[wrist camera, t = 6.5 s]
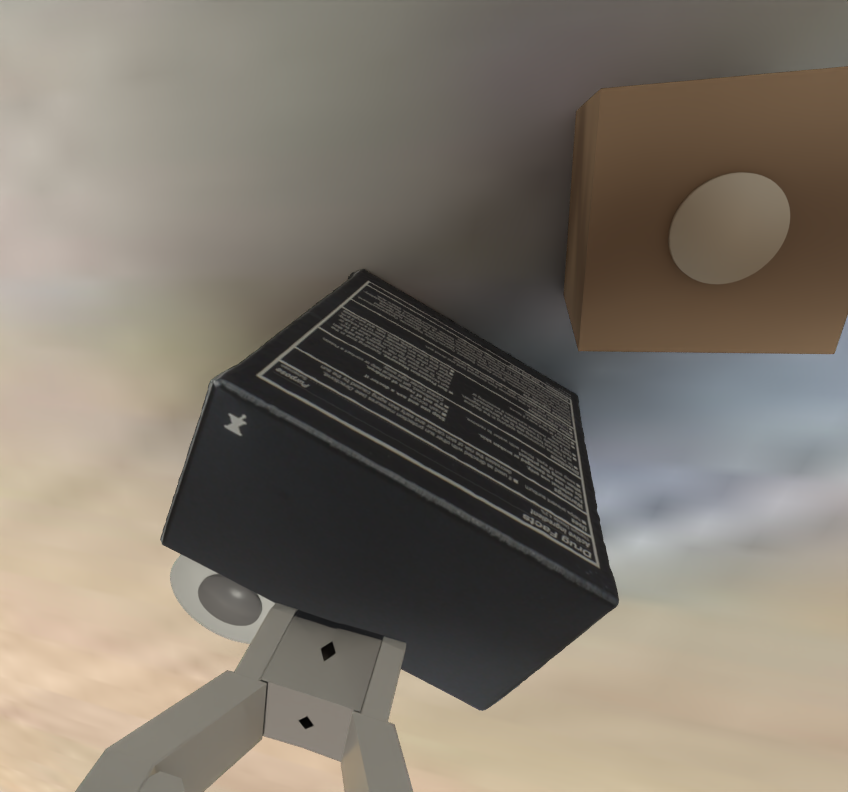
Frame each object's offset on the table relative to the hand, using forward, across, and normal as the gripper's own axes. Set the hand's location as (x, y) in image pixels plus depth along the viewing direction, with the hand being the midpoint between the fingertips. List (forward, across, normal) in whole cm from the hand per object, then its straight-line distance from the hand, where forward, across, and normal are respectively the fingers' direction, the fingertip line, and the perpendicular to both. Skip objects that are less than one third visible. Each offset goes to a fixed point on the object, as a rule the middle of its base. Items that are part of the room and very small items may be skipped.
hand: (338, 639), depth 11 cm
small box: (+12, 0, 0) cm, 12 cm away
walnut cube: (+12, -6, -10) cm, 16 cm away
